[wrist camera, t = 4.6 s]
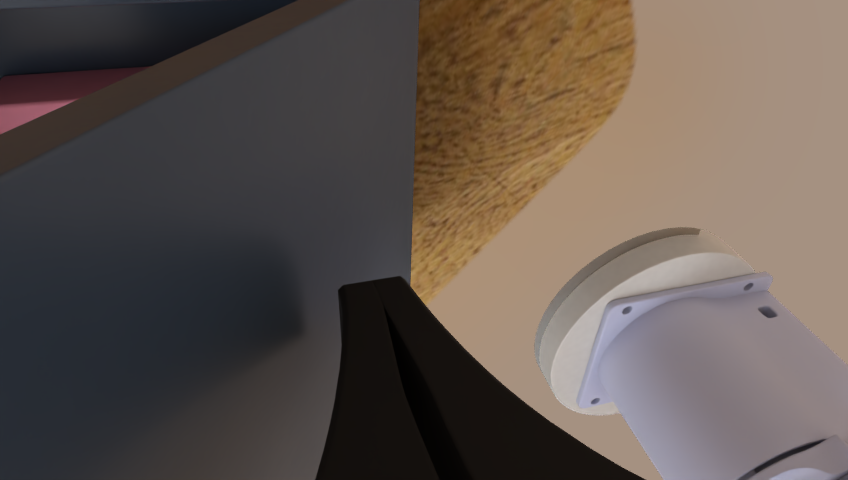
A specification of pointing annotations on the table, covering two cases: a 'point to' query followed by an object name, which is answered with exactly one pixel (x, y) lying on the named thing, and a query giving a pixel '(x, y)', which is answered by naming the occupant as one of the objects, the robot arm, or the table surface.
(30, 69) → the box
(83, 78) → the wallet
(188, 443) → the lid
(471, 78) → the table surface
